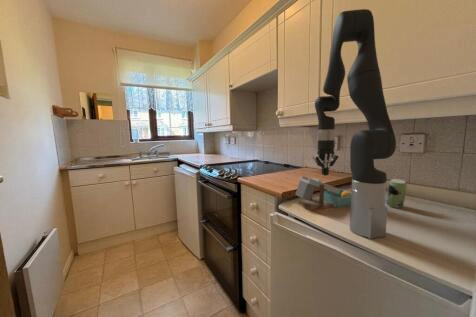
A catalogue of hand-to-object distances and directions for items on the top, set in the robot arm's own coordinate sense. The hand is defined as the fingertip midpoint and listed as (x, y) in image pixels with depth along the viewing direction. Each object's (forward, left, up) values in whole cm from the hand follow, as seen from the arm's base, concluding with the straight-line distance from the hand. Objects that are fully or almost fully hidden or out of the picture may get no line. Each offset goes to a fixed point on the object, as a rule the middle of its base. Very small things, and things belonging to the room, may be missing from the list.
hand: (325, 175), depth 97 cm
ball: (-5, -8, -9) cm, 13 cm away
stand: (-5, +9, -12) cm, 16 cm away
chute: (-3, +9, -10) cm, 14 cm away
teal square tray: (-5, -5, -12) cm, 14 cm away
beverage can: (-17, -22, -12) cm, 31 cm away
